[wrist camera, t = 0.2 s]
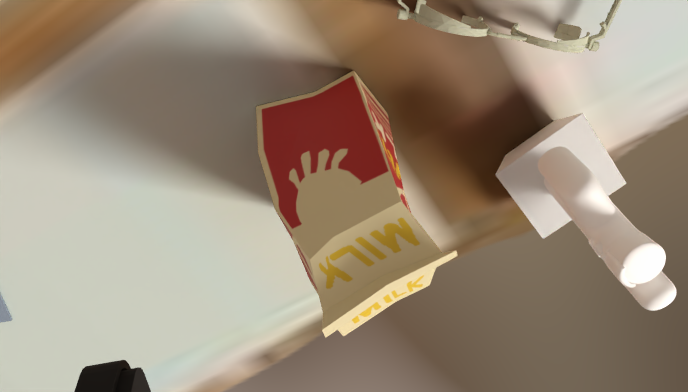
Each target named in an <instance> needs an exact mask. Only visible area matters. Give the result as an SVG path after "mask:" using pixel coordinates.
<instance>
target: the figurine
mask: <svg viewBox="0 0 688 392" xmlns="http://www.w3.org/2000/svg"><path fill="white" fill-rule="evenodd" d="M495 175H496V176H497V178H498V179H499V180H500V182H501V183H502V184H503V186H504V187H505V189H506V190H507V191H508V193H509V194H510V195H511V197H512V198H513V199H514V201H515V202H516V203H517V205H518V206H519V207H520V209H521V210H522V211H523V213H524V214H525V215H526V217H527V218H528V219H529V221H530V222H531V223H532V225H533V226H534V227H535V229H536V230H537V231H538V233H539V234H540V235H541V236H542V238H543V239H544V238H545V237H547V236H548V235H550V234H551V233H553V232H554V231H556V230H557V229H559V228H560V227H562V226H563V225H565V224H566V223H568V222H569V221H571V220H573V221H574V223H575V224H576V225H577V226H578V227H579V228H580V230H581V231H582V232H583V233H584V235H585V236H586V237H587V238H588V240H589V244H590V245H591V247H592V248H593V250H594V251H595V252H596V254H597V255H598V256H599V257H601V258H602V259H603V261H604V262H605V263H606V265H607V267H608V268H609V269H610V270H611V272H612V273H613V274H614V275H615V276H616V277H617V279H618V280H619V281H620V282H621V283H622V284H623V285H624V286H625V287H626V288H627V290H628V291H629V292H630V293H631V294H632V295H633V297H634V298H635V299H636V300H637V301H638V303H639V304H640V305H641V306H642V307H644V308H645V309H648V310H659V309H661V308H663V307H666V306H667V305H669V304H670V303H671V302H672V301H673V300H674V298H675V295H676V288H675V286H674V285H673V283H672V282H671V281H670V280H669V279H668V278H667V277H666V275H665V274H664V273H663V272H662V271H661V270H662V268H663V267H664V264H665V260H666V256H665V252H664V250H663V248H662V247H661V246H660V245H658V244H657V243H655V242H654V241H653V240H652V239H650V238H649V237H648V236H647V235H645V234H644V233H642V232H640V231H639V230H638V229H636V227H634V226H633V224H632V223H631V222H630V221H629V220H628V219H627V218H626V217H625V216H624V215H623V214H622V213H621V211H620V210H619V209H618V208H617V207H616V206H615V205H614V204H613V203H612V201H611V200H610V199H609V197H608V195H610V194H611V193H613V192H614V191H616V190H617V189H619V188H620V187H622V186H623V185H625V184H626V182H625V180H624V178H623V177H622V175H621V174H620V172H619V170H618V169H617V167H616V166H615V164H614V162H613V161H612V159H611V158H610V156H609V154H608V153H607V151H606V149H605V148H604V146H603V145H602V143H601V141H600V140H599V138H598V137H597V135H596V133H595V132H594V130H593V128H592V127H591V125H590V124H589V122H588V120H587V119H586V117H585V116H584V114H583V113H581V114H578V115H574V116H570V117H566V118H562V119H559V120H555V121H553V122H551V123H550V124H548V125H547V126H546V127H544V128H543V129H541V130H540V131H539V132H537V133H536V134H534V135H533V136H532V137H530V138H529V139H527V140H526V141H524V142H523V143H522V144H520V145H519V146H517V147H516V148H515V149H513V150H512V151H510V152H509V153H508V154H506V155H505V157H504V159H503V161H502V163H501V165H500V166H499V168H498V170H497V172H496V174H495Z"/></svg>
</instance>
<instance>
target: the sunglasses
mask: <svg viewBox="0 0 688 392" xmlns="http://www.w3.org/2000/svg"><path fill="white" fill-rule="evenodd" d="M621 1H622V0H615V2H614V4H613V5H612V7H611V9H610V12H609V13H608V16H607V18H608V19H607V18H606V21H605V22H602V23H600V26H601V27H602V29H601V31H600V33H599V34H596V35H593V36H591V37H589V34H590V33H589V32H587V35H586V36H585V37H583V38H580V39H579V36H580V33H581V30H582V29H581V28H580V27H578V26H573V25H568V24H559V25H558V28H557V31H556V32H555V35H554V37H555V38H558V39H561V41H557V43H556V42H552V41H547V40H543V39H540V38H536V37H533V36H530V35H527V34H525V33H522V32H520V31H518V30H519V26H520V25H518V23H515V24H514V25H513V26H512V29H511V35H507V34H502V33H493V32H492V31H491V29H490V28H489V25H487V24H486V23H484V22H483V21H482V20H483V18H482V17H481V16H480V17H479V18H478V19H474V18H471V17H468V16H464V15H463V17H462V21H461V22H463V23H461V22H459V21H457V20H454V19H452V18H450V17H448V16H445V15H443V14H441V13H439V12H437V11H435V10H433V9H431V8H430V7H428V6H426V5H425V4H426V1H425V0H417V5H416V9H415V10H414V14H413V13H409V7H408V6H406V5H405V4H404V3H403V2H402V1H401V0H397V2H398V3H399V4H400V5H402V6H403V7H404V8H405V10H404V9H399V10H398V12H397V19H401V20H405V19H407V18H410V19H411V18H412V19H414V20H415V21H416V22H418V23H420V24H422V25H425V26H428V27H430V28H433V29H437V30H441V31H444V32H448V33H453V34H459V35H465V36H475V37H478V36H486V35H487V34H488V35H492V36H496V37H500V38H508V39H513V40H518V41H520V40H522V41H525V42H527V43H530V44H534V45H537V46H540V47H544V48H548V49H553V50H557V51H563V52H572V53H580V52H583V51H584V49H585V48H588V49H589V50H591V51H597V50H598V49H599V42H595V41H596V40H599V39H602V38H604V37H605V35H606V33H607V31H608V29H609V26H610V24H611V22H612V20H613V18H614V16H615V14H616V12H617V10H618V8H619V6H620V4H621ZM464 23H467V24H470V25H472V26H475V27H478V28H480V29H472V28H471V26H469V25H466V24H464Z"/></svg>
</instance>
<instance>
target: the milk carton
mask: <svg viewBox="0 0 688 392" xmlns="http://www.w3.org/2000/svg"><path fill="white" fill-rule="evenodd" d="M256 119H257V139H258V154H259V157H260V161H261V164H262V167H263V171H264V174H265V177H266V181H267V184H268V187H269V191H270V194H271V197H272V201H273V204H274V207H275V210H276V212H277V213H278V215H279V217H280V219H281V220H282V222H283V224H284V226H285V227H286V229H287V231H288V233H289V234H290V236H291V238H292V240H293V241H294V244H295V246H296V248H297V251H298V253H299V255H300V258H301V260H302V263H303V265H304V267H305V270H306V272H307V274H308V277H309V279H310V281H311V283H312V285H313V286H314V288H315V290H316V291H317V293H318V295H319V298H320V302H321V306H322V310H323V323H322V331H323V333H324V335H325V337H327V336H329V335H330V334H332V333H333V332H335V331H336V330H338V331H339V332H340V333H341V334H342V335H343V336H345V335H346V334H348V333H349V332H351V331H352V330H354V329H355V328H357V327H358V326H360V325H361V324H363V323H364V322H366V321H367V320H369V319H370V318H372V317H373V316H375V315H376V314H378V313H379V312H381V311H382V310H384V309H385V308H387V307H388V306H390V305H391V304H393V303H394V302H396V301H398V300H400V299H402V298H404V297H406V296H408V295H410V294H412V293H415V292H417V291H419V290H421V289H423V288H425V287H427V286H429V285H430V283H431V280H432V277H433V274H434V271H435V268H436V267H438V266H440V265H441V264H443V263H445V262H447V261H449V260H451V259H452V258H454V257H456V256H458V255H457V252H456V251H450V252H444V253H442V252H441V250H440V249H439V248H438V247H437V245H436V244H435V243H434V242H433V240H432V239H431V238H430V236H429V235H428V234H427V233H426V231H425V230H424V229H423V228H422V226H421V225H420V224H419V223H418V221H417V220H416V219H415V218H414V216H413V215H412V214H411V211H410V208H409V205H408V203H407V200H406V197H405V194H404V191H403V186H402V181H401V176H400V171H399V166H398V162H397V157H396V152H395V147H394V142H393V138H392V133H391V128H390V123H389V118H388V113H387V112H386V111H385V110H384V108H383V107H382V106H381V104H380V103H379V102H378V101H377V99H376V98H375V97H374V96H373V94H372V93H371V92H370V90H369V89H368V88H367V87H366V85H365V84H364V83H363V82H362V80H361V79H360V78H359V76H358V75H357V74H356V73H355V71H352V72H350V73H348V74H346V75H344V76H343V77H341V78H339V79H337V80H335V81H333V82H332V83H330V84H328V85H326V86H324V87H323V88H321V89H319V90H317V91H315V92H312V93H308V94H304V95H300V96H296V97H292V98H287V99H283V100H279V101H275V102H271V103H267V104H263V105H259V106H256Z"/></svg>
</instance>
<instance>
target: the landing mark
mask: <svg viewBox="0 0 688 392" xmlns="http://www.w3.org/2000/svg"><path fill="white" fill-rule="evenodd" d="M11 320H12V318H11V315H10V313H9V311H8V309H7V307H6V305H5V302H4V300H3V298H2V296H1V294H0V322H6V321H11Z"/></svg>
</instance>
